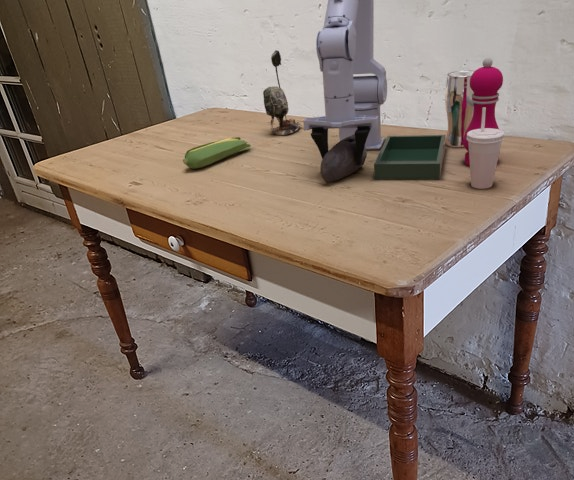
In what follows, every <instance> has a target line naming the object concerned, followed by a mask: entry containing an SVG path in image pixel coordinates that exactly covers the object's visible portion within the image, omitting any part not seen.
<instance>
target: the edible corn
mask: <svg viewBox="0 0 574 480" xmlns="http://www.w3.org/2000/svg"><path fill="white" fill-rule="evenodd" d="M251 147H252V145H251V144H249V143H248V142H247V141H245V140H243V139H242V138H241V137H240V136H238V137H228V138H224V139H219V140H216V141H212V142H208V143H205V144H201V145H197V146H195V147H192V148H190V149H188V150H187V151H186V152H185V154H184V158H183V159H182V162H183V164H184V165H185V166H186V167H188V168H191V169H201V168H204V167H207V166H210V165H212V164H215V163H217V162H220V161H221V160H224V159H225V158H228V157H230V156H233V155H235V154H238V153H241V152H243V151H245V150H248V149H250V148H251Z"/></svg>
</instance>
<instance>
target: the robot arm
mask: <svg viewBox="0 0 574 480" xmlns="http://www.w3.org/2000/svg"><path fill="white" fill-rule="evenodd" d="M374 2H375V1H374V0H327V5H326V12H325V17H324V22H323V26H322V29H321V31H320V30H319V31H318V32H317V34H316V39H315V40H316V41H315V49H316V55H317V58H318V63H319V70H320V72H322V83H323V84H322V85H323V101H324V114H325V116H316V117H315V116H314V117H305V119H304V120H303V121H302V122H303V130H304V131H310V130H311V133H310V138H311V139H312V140H313V142H314V144H315V145H316V147H317V149H318V151H319V154H320V156H321V160H322V159H323V157H324V156H325V154H326V153H327V152H328V151H329V150H330V149H329V130H330V129H331V130H335V129H338V138H339V142H340V141H341V140H343V139H345V138H347V137H349V136H351V135H354V134H355V140H356V163H357V165H361V163H362V155H363V150H364V146H365V148H366V150H381V149H382V147H383V144H384V142H385V140H386V138H385V137H384V136H383V137H382V131H381V130H382V128H381V127H382V125H381V123H382V122H381V106H382V105H384V104H385V102H386V101H387V96H388V79H387V71H386V67H384V66H383V65H382V64H381V63H380V62H378V61H377V60H376V59H375V58H374V25H375V24H374V21H375V20H374V18H375V17H374V14H375V13H374V9H375V8H374V5H375V3H374ZM369 74H371V75H369ZM355 75H356V76H355ZM357 75H358V76H357Z"/></svg>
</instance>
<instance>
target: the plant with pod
mask: <svg viewBox="0 0 574 480" xmlns="http://www.w3.org/2000/svg"><path fill="white" fill-rule="evenodd" d="M270 60H271V64H272V66H273V67H274V68H275V74H276V80H277V85H278V86H274V85H273V86H268V87H266V88H264V90H263V92H262V95H263V105H264V109H265V113H266V115H267V116H269V117H271V119H270V131H271V133H272V134H273V135H275V136H286V135H290V134H293V133H295V132H296V131H298V130H299V128H301V127H302V126H303V125H302V124H301V123H299V121H297V122H296V119H295V118H293V117H292V118H289V119H287V115H288V113H289V111H290V110H289V104H288V103H289V102H288V100H287V96H286V94H285V92H284V89H282V87H281V84H280V79H279V73H278V67H279V66H282V57H281V53H280V51H279V50H277V49H275V50H274V51H273V52H272V54H271V57H270ZM284 117H285V119H284ZM275 118H276V120H277V122H278V125H279V126H277V127H274V122H275Z"/></svg>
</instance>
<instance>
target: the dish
mask: <svg viewBox="0 0 574 480" xmlns="http://www.w3.org/2000/svg"><path fill="white" fill-rule="evenodd" d="M446 138H447V134H419V135H418V134H416V135H413V134H412V135H387V136H386V138H385V140H384V142H383V144H382V146H381V148H380V151H379V152H378V155H377V157H376V159H375V160H374V164H373V169H374V170H373V174H374V180H441V176H442V175H441V174H442V170H443V169H442V168H443V163H444V159H445V158H444V157H445V152H446Z"/></svg>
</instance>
